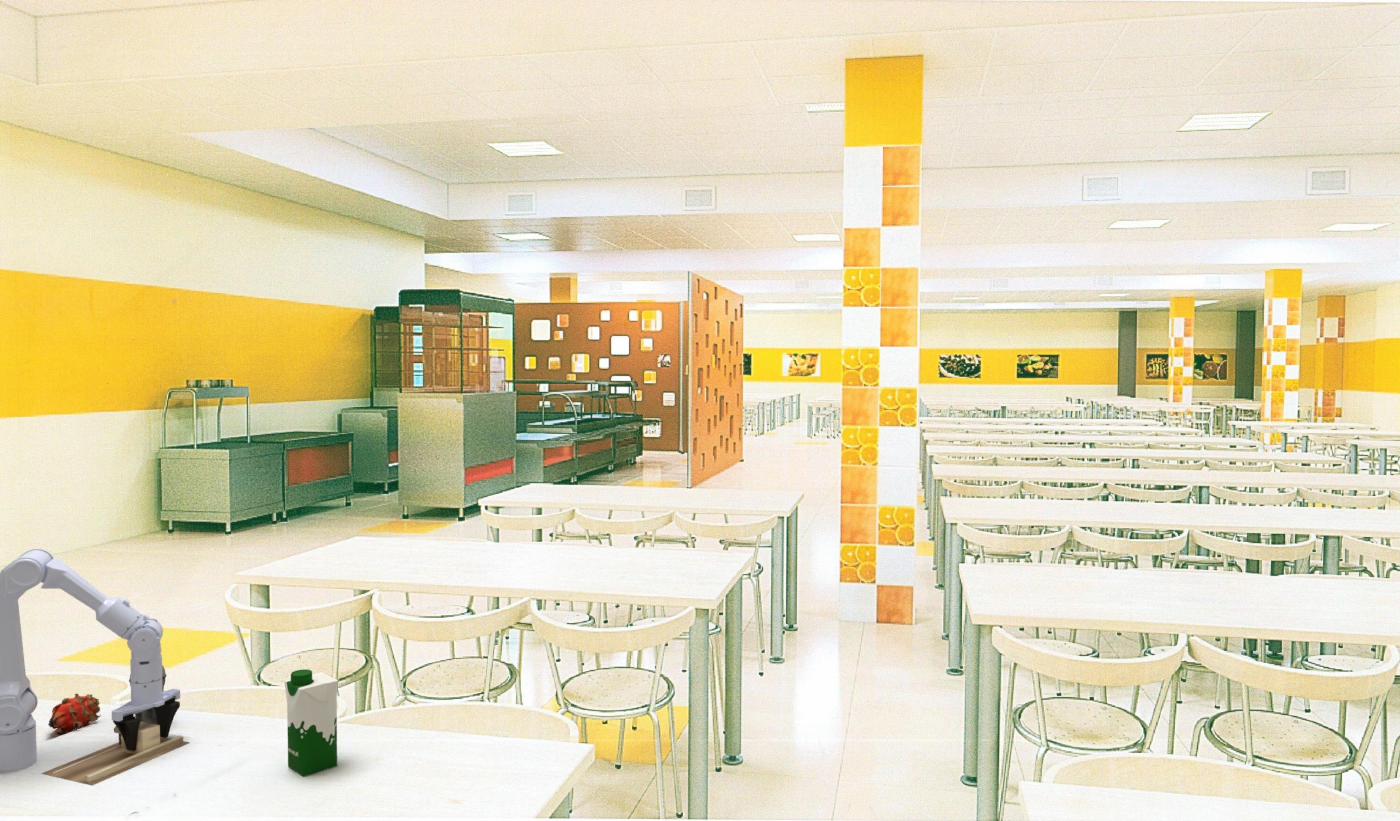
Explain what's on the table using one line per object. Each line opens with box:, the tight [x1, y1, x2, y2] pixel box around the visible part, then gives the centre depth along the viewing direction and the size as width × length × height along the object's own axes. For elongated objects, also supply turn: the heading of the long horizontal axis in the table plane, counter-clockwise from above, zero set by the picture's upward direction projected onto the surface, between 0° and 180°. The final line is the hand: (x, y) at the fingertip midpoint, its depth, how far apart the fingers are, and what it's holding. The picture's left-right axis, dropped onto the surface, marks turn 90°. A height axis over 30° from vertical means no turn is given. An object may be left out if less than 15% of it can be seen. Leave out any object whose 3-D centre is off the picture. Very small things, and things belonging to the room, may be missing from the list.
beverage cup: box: [128, 664, 167, 725], centre depth 215 cm, size 7×7×20 cm
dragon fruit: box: [47, 693, 102, 736], centre depth 213 cm, size 8×8×12 cm
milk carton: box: [284, 669, 339, 778], centre depth 196 cm, size 9×9×20 cm
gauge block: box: [113, 722, 160, 754], centre depth 200 cm, size 10×4×5 cm, turn 69°
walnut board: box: [41, 735, 191, 786], centre depth 196 cm, size 14×22×3 cm, turn 159°
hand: (147, 742), depth 201 cm, fingers open, 7 cm apart
